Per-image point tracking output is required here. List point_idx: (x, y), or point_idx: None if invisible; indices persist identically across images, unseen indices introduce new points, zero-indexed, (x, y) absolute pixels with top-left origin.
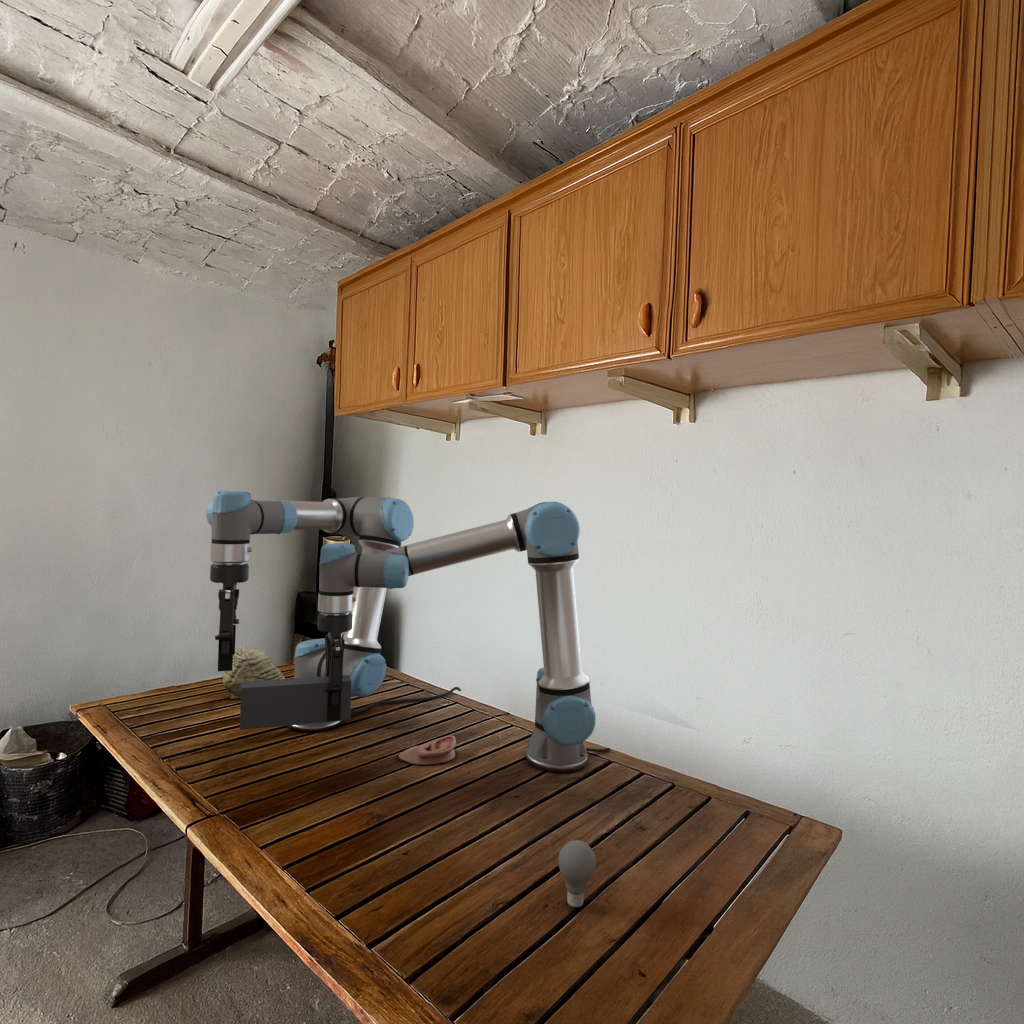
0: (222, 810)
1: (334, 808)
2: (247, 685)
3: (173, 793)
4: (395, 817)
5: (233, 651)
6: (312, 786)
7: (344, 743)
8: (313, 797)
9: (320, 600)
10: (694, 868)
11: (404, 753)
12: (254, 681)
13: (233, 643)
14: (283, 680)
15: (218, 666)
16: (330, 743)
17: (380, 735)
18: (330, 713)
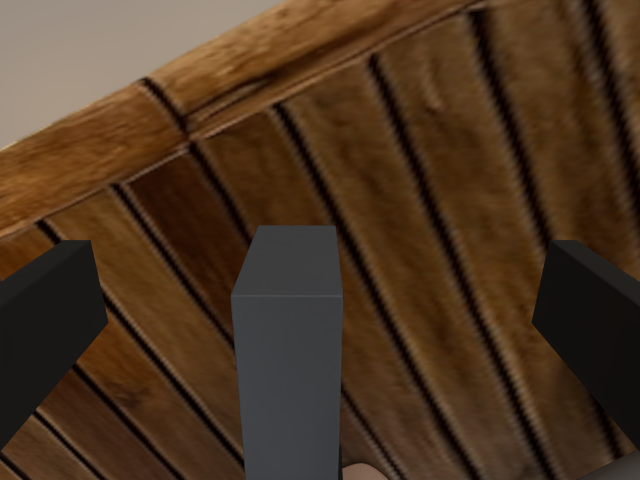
0: (203, 146)
1: (173, 343)
2: (270, 320)
3: (320, 22)
4: (125, 421)
5: (545, 326)
6: None
7: (478, 387)
8: (226, 314)
9: None
10: None
11: (357, 477)
12: (331, 346)
13: (580, 366)
14: (315, 446)
15: (44, 258)
16: (491, 362)
17: (492, 450)
18: None
